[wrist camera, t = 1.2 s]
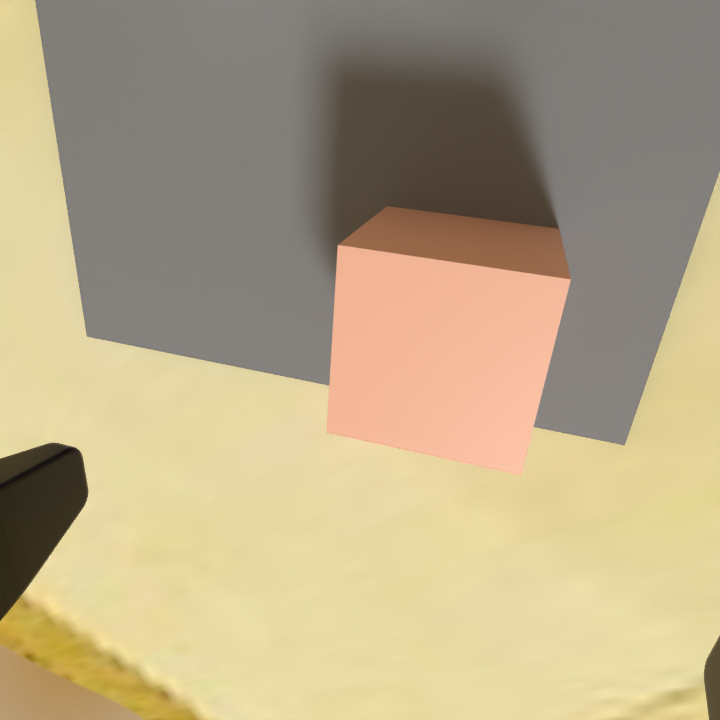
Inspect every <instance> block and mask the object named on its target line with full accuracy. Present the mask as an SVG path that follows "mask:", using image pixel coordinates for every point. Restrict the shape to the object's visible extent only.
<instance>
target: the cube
mask: <svg viewBox="0 0 720 720" xmlns="http://www.w3.org/2000/svg"><path fill="white" fill-rule="evenodd" d="M570 281H571V278H570V273H569V269H568V264H567V260H566V256H565V251H564V247H563V243H562V238H561V234H560V230H559V229H558V228H550V227H542V226H535V225H527V224H520V223H512V222H504V221H497V220H489V219H481V218H474V217H466V216H459V215H451V214H443V213H436V212H428V211H421V210H413V209H405V208H398V207H390V206H387V207H385V208H384V209H383V210H382V211H380V212H379V213H378V214H377V215H375V216H374V217H373V218H371V219H370V220H369V221H368V222H366V223H365V224H364V225H362V226H361V227H360V228H359V229H357V230H356V231H355V232H354V233H352V234H351V235H350V236H348V237H347V238H346V239H345V240H343V241H342V242H341V243H340V244H338V249H337V266H336V283H335V299H334V316H333V333H332V350H331V366H330V383H329V400H328V417H327V433H331V434H336V435H340V436H345V437H349V438H354V439H358V440H363V441H367V442H372V443H376V444H381V445H386V446H390V447H395V448H399V449H404V450H408V451H413V452H417V453H422V454H426V455H431V456H435V457H440V458H444V459H449V460H454V461H458V462H463V463H467V464H472V465H476V466H481V467H485V468H490V469H494V470H499V471H503V472H508V473H513V474H517V475H521V474H522V470H523V466H524V462H525V458H526V454H527V450H528V446H529V442H530V438H531V434H532V431H533V427H534V423H535V419H536V415H537V411H538V407H539V403H540V399H541V395H542V391H543V387H544V383H545V379H546V376H547V372H548V368H549V364H550V360H551V356H552V352H553V348H554V344H555V340H556V336H557V332H558V328H559V325H560V321H561V317H562V313H563V309H564V305H565V301H566V297H567V293H568V289H569V285H570Z"/></svg>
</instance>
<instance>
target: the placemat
mask: <svg viewBox="0 0 720 720" xmlns="http://www.w3.org/2000/svg"><path fill="white" fill-rule="evenodd" d="M35 1H36V8H37V15H38V21H39V28H40V34H41V41H42V47H43V54H44V60H45V67H46V73H47V80H48V86H49V93H50V99H51V106H52V112H53V119H54V125H55V132H56V138H57V145H58V151H59V158H60V164H61V171H62V177H63V184H64V190H65V197H66V203H67V210H68V216H69V223H70V229H71V236H72V242H73V249H74V255H75V262H76V268H77V275H78V281H79V288H80V294H81V301H82V307H83V314H84V320H85V327H86V333H87V337H92V338H97V339H102V340H107V341H112V342H117V343H122V344H127V345H132V346H137V347H142V348H147V349H152V350H157V351H162V352H166V353H171V354H176V355H181V356H186V357H191V358H196V359H201V360H206V361H211V362H216V363H221V364H226V365H231V366H236V367H241V368H246V369H250V370H255V371H260V372H265V373H270V374H275V375H280V376H285V377H290V378H295V379H300V380H305V381H310V382H315V383H320V384H325V385H329V383H330V366H331V350H332V333H333V316H334V299H335V283H336V266H337V249H338V244H340V243H341V242H342V241H343V240H345V239H346V238H347V237H348V236H350V235H351V234H352V233H354V232H355V231H356V230H357V229H359V228H360V227H361V226H362V225H364V224H365V223H366V222H368V221H369V220H370V219H371V218H373V217H374V216H375V215H377V214H378V213H379V212H380V211H382V210H383V209H384V208H385V207H387V206H390V207H398V208H405V209H413V210H421V211H428V212H436V213H443V214H451V215H459V216H466V217H474V218H481V219H489V220H497V221H504V222H512V223H520V224H527V225H535V226H542V227H550V228H558V229H559V230H560V234H561V238H562V243H563V247H564V251H565V256H566V260H567V264H568V269H569V273H570V278H571V281H570V285H569V289H568V293H567V297H566V301H565V305H564V309H563V313H562V317H561V321H560V325H559V328H558V332H557V336H556V340H555V344H554V348H553V352H552V356H551V360H550V364H549V368H548V372H547V376H546V379H545V383H544V387H543V391H542V395H541V399H540V403H539V407H538V411H537V415H536V419H535V423H534V427H537V428H542V429H547V430H552V431H557V432H562V433H567V434H572V435H577V436H582V437H586V438H591V439H596V440H601V441H606V442H611V443H616V444H621V445H625V443H626V440H627V437H628V434H629V431H630V428H631V425H632V422H633V419H634V417H635V414H636V411H637V408H638V405H639V402H640V399H641V396H642V393H643V391H644V388H645V385H646V382H647V379H648V376H649V373H650V370H651V368H652V365H653V362H654V359H655V356H656V353H657V350H658V347H659V344H660V342H661V339H662V336H663V333H664V330H665V327H666V324H667V321H668V318H669V316H670V313H671V310H672V307H673V304H674V301H675V298H676V295H677V293H678V290H679V287H680V284H681V281H682V278H683V275H684V272H685V269H686V267H687V264H688V261H689V258H690V255H691V252H692V249H693V246H694V243H695V241H696V238H697V235H698V232H699V229H700V226H701V223H702V220H703V218H704V215H705V212H706V209H707V206H708V203H709V200H710V197H711V194H712V192H713V189H714V186H715V183H716V180H717V177H718V174H719V171H720V0H35Z"/></svg>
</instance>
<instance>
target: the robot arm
mask: <svg viewBox="0 0 720 720" xmlns="http://www.w3.org/2000/svg"><path fill="white" fill-rule="evenodd" d="M87 497H88V485H87V479H86V474H85V468H84V462H83V457H82V454H81V452H80V451H79V450H78V449H77V448H75V447H71V446H67V445H63V444H59V443H49V444H45V445H42V446H39V447H36V448H33V449H30V450H26V451H23V452H20V453H17V454H14V455H10V456H7V457H4V458H1V459H0V621H1V620H2V618H3V617H4V616H5V615H6V614H7V612H8V611H9V610H10V609H11V608H12V606H13V605H14V604H15V603H16V601H17V600H18V599H19V598H20V596H21V595H22V594H23V593H24V591H25V590H26V588H27V587H28V586H29V584H30V583H31V582H32V580H33V579H34V577H35V576H36V575H37V573H38V572H39V570H40V569H41V567H42V566H43V565H44V563H45V562H46V560H47V559H48V557H49V556H50V555H51V553H52V552H53V550H54V549H55V547H56V546H57V544H58V543H59V542H60V540H61V539H62V537H63V536H64V534H65V533H66V532H67V530H68V529H69V527H70V526H71V524H72V523H73V522H74V520H75V519H76V517H77V516H78V514H79V513H80V511H81V510H82V509H83V507H84V505H85V503H86V501H87ZM704 683H705V691H706V699H707V707H708V715H709V720H720V636H719V638H718V639H717V641H716V643H715V645H714V647H713V649H712V650H711V652H710V654H709V656H708V658H707V660H706V664H705V669H704Z"/></svg>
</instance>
